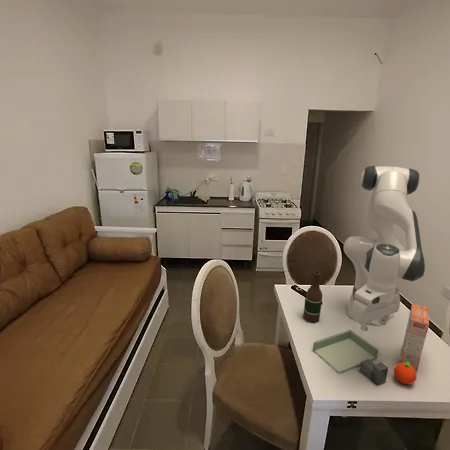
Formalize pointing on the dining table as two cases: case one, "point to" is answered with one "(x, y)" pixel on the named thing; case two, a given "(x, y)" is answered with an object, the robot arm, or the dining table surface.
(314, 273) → the beer bottle
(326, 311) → the dining table surface
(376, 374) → the bracket
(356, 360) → the tray
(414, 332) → the cracker box
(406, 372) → the clementine
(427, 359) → the dining table surface
